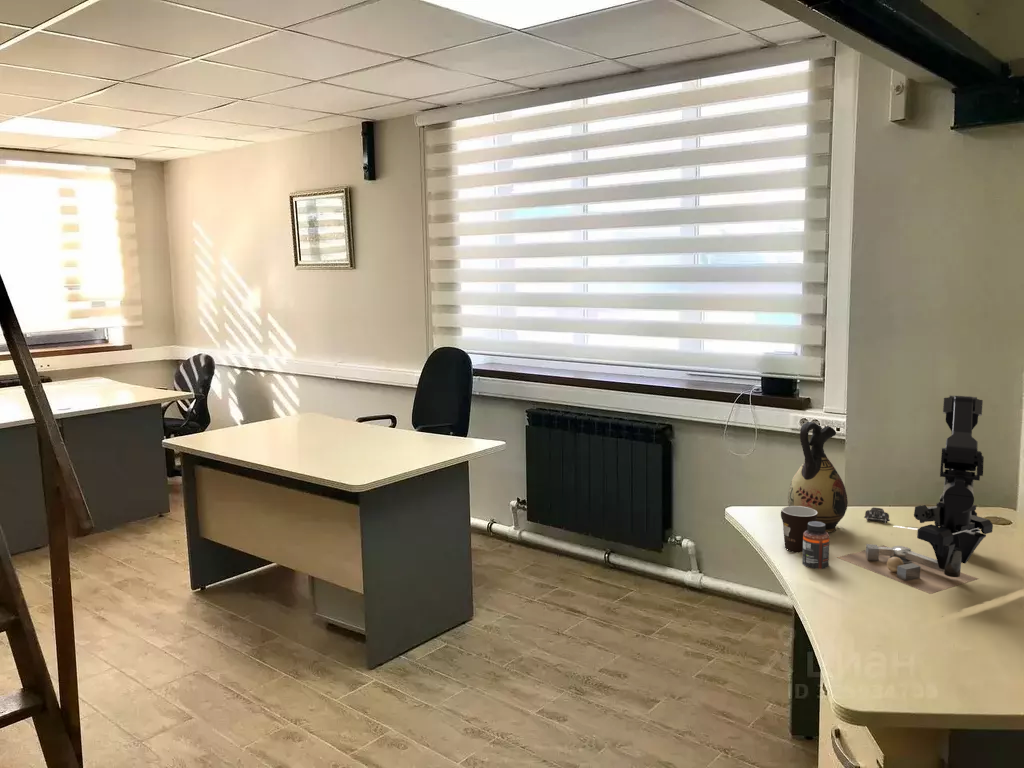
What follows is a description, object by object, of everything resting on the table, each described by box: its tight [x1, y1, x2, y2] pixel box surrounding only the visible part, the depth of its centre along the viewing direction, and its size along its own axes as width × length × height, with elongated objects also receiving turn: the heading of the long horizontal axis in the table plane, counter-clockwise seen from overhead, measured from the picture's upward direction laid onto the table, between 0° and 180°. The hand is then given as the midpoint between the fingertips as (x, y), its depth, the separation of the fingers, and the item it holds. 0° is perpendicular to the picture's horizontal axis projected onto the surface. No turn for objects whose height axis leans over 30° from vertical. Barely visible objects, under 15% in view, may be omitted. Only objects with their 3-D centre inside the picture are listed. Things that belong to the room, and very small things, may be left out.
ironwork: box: [890, 556, 921, 581], centre depth 190 cm, size 15×5×3 cm, turn 163°
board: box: [836, 545, 979, 595], centre depth 191 cm, size 17×25×1 cm
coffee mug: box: [780, 505, 818, 553], centre depth 208 cm, size 12×9×10 cm
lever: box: [865, 543, 962, 577], centre depth 189 cm, size 21×9×7 cm, turn 28°
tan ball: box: [887, 557, 904, 573], centre depth 188 cm, size 4×4×4 cm
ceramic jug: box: [787, 421, 848, 534], centre depth 221 cm, size 17×15×30 cm
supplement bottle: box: [801, 521, 830, 570], centre depth 193 cm, size 6×6×11 cm
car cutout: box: [863, 507, 919, 531], centre depth 226 cm, size 15×7×4 cm, turn 60°
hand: (952, 565), depth 183 cm, fingers open, 7 cm apart
